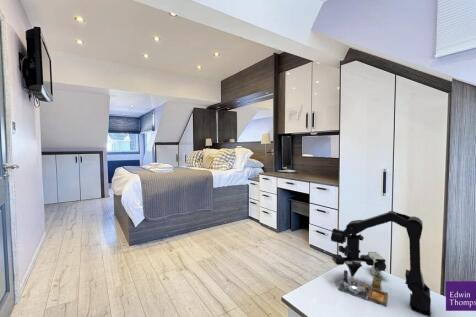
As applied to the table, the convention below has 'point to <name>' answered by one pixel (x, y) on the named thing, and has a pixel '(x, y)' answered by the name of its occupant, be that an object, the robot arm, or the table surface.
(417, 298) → the robot arm
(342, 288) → the sprocket base
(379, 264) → the pneumatic valve
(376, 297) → the brown open tray
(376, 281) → the tan rectangular block
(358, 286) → the sprocket
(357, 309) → the table surface
